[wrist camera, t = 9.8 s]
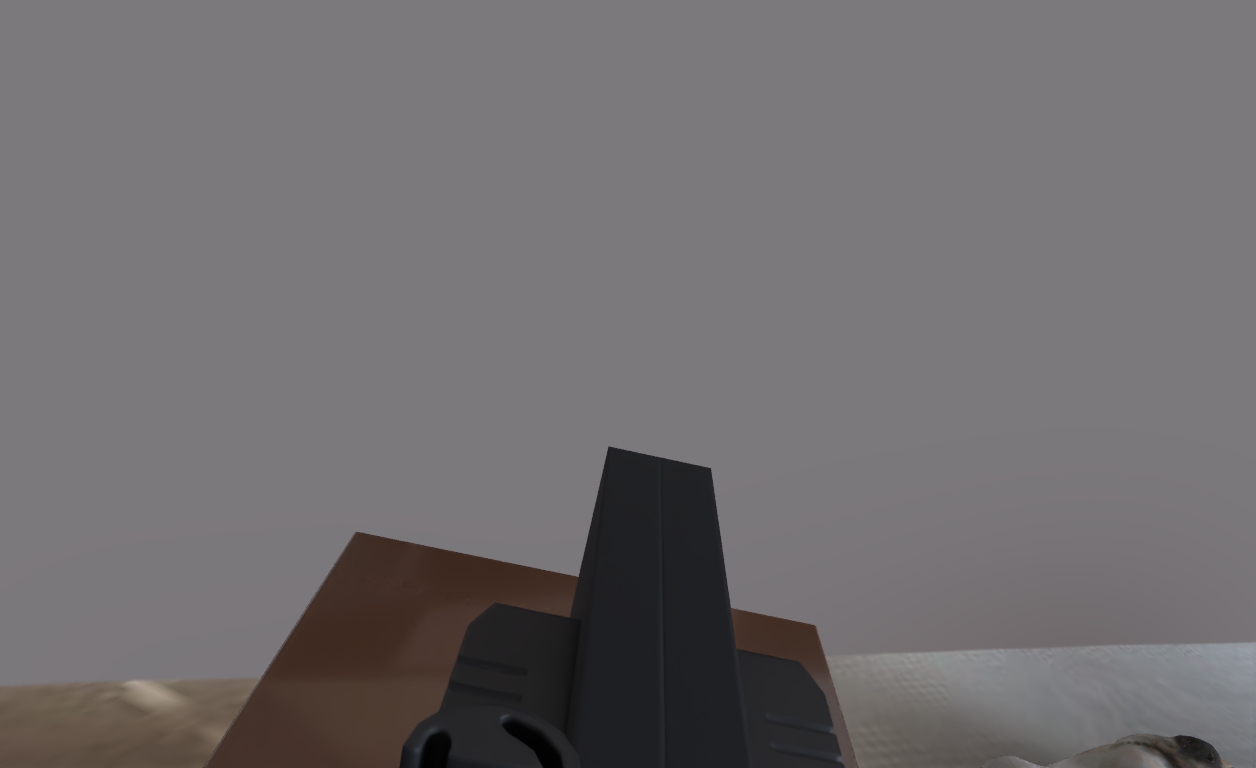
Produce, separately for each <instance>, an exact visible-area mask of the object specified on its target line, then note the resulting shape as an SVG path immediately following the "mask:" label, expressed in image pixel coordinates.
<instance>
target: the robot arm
mask: <svg viewBox="0 0 1256 768" xmlns="http://www.w3.org/2000/svg"><path fill="white" fill-rule="evenodd" d="M833 731H834V725H833V722H832V718H831V714H830V711H829V707H828V704H827V700H826V696H825V693H824V692H823V691H822V690H821V688H820V687H819V686H818V685H817V683H816V682H815V681H814V679H813V678H812V677H811V676H810V674H809V673H808V672H807V671H806V669H805V668H804V667H803V665H802V664H801V663H800V662H799V661H795V660H790V659H785V658H780V657H775V656H770V655H765V654H760V653H755V652H751V651H746V650H741V649H737V648H736V641H735V634H734V627H733V620H732V613H731V607H730V599H729V592H728V586H727V578H726V572H725V564H724V558H723V551H722V543H721V536H720V529H719V522H718V515H717V508H716V501H715V494H714V487H713V480H712V472H711V468H707V467H702V466H698V465H693V464H688V463H683V462H679V461H674V460H669V459H665V458H660V457H655V456H650V455H646V454H641V453H637V452H632V451H627V450H622V449H617V448H613V447H608V451H607V456H606V460H605V464H604V469H603V474H602V478H601V482H600V487H599V491H598V495H597V500H596V504H595V508H594V512H593V517H592V522H591V526H590V530H589V535H588V539H587V543H586V547H585V552H584V556H583V560H582V565H581V569H580V574H579V578H578V582H577V587H576V591H575V595H574V600H573V604H572V608H571V614H570V618H569V617H564V616H559V615H554V614H549V613H544V612H540V611H535V610H530V609H525V608H520V607H515V606H510V605H505V604H501V603H496V602H495V603H494V604H492V605H491V606H490V607H489V608H488V609H486V610H485V611H484V612H483V613H481V614H480V615H479V616H478V617H477V618H475V619H474V620H473V621H472V622H471V623H469V624H468V626H467V629H466V632H465V635H464V638H463V641H462V644H461V647H460V650H459V653H458V656H457V660H456V662H455V665H454V668H453V671H452V674H451V676H450V679H449V683H448V687H447V688H446V691H445V694H444V697H443V700H442V703H441V706H440V709H439V711H438V712H436V713H435V714H433V715H431V716H430V717H428V718H426V719H425V720H423V721H421V722H420V723H418V724H417V726H416V727H415V729H414V730H413V731H412V733H411V734H410V736H409V737H408V739H407V740H406V742H405V743H404V744H403V748H402V754H401V759H400V765H399V768H845V766H844V763H841V758H842V755H841V751H840V747H839V744H838V740H837V736H836V734H833Z"/></svg>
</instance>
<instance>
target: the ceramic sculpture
mask: <svg viewBox="0 0 1256 768" xmlns="http://www.w3.org/2000/svg"><path fill="white" fill-rule="evenodd" d="M981 768H1234V767H1232V766H1231V765H1230V764H1229V763H1227V762H1226V761H1225V760H1223V759H1221V758H1220V756H1219V754H1218V753H1217V751H1216V750H1215V748H1214V747H1213V746H1212V745H1211V744H1209V743H1207V742H1205V741H1203V740H1200V739H1197V738H1194V737H1191V736H1182V735H1179V736H1175V737H1171V738H1168V737H1163V736H1158V735H1150V734H1136V735H1130V736H1127V737H1124V738H1121V739H1120V740H1118V741H1117V742H1116V743H1114V744H1109V745H1103V746H1099V747H1096V748H1093V749H1090V750H1088V751H1085V752H1082V753H1080V754H1078V755H1075V756H1073V757H1070V758H1067V759H1064V760H1061V761H1058V762H1055V763H1052V764H1050V765H1049V766H1048V767H1044V766H1040V765H1036V764H1033V763H1030V762H1028V761H1025V760H1023V759H1021V758H1018V757H1015V756H999V757H995V758H993V759H991V760H989V761H988V762H986V763H985V764H984V765H983V766H982V767H981Z"/></svg>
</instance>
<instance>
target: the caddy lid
mask: <svg viewBox="0 0 1256 768" xmlns="http://www.w3.org/2000/svg"><path fill="white" fill-rule="evenodd" d="M578 578H579V577H576V576H571V575H566V574H561V573H556V572H551V571H546V570H541V569H537V568H532V567H526V566H522V565H517V564H512V563H507V562H502V561H497V560H492V559H488V558H483V557H478V556H472V555H468V554H463V553H458V552H453V551H448V550H443V549H438V548H434V547H428V546H424V545H419V544H414V543H409V542H404V541H399V540H394V539H389V538H385V537H380V536H374V535H369V534H365V533H360V532H355V533H354V535H353V536H352V538H351V540H350V541H349V542H348V544H347V546H346V547H345V549H344V550H343V552H342V553H341V555H340V556H339V558H338V560H337V561H336V563H335V564H334V566H333V567H332V569H331V570H330V572H329V573H328V575H327V577H326V578H325V580H324V581H323V583H322V585H321V586H320V587H319V589H318V591H317V592H316V594H315V596H314V597H313V599H312V600H311V601H310V603H309V605H308V606H307V608H306V609H305V611H304V612H303V614H302V615H301V617H300V619H299V620H298V622H297V623H296V625H295V626H294V628H293V629H292V631H291V632H290V634H289V636H288V637H287V639H286V640H285V642H284V643H283V645H282V646H281V648H280V649H279V651H278V653H277V654H276V656H275V657H274V659H273V661H272V662H271V664H270V665H269V667H268V668H267V670H266V671H265V673H264V674H263V676H262V677H261V679H260V680H259V682H258V684H257V685H256V687H255V688H254V690H253V691H252V693H251V694H250V696H249V698H248V699H247V701H246V702H245V704H244V705H243V707H242V708H241V710H240V712H239V713H238V715H237V716H236V718H235V719H234V721H233V722H232V724H231V725H230V727H229V729H228V730H227V732H226V733H225V735H224V736H223V738H222V739H221V741H220V743H219V744H218V746H217V747H216V749H215V750H214V752H213V753H212V755H211V756H210V758H209V760H208V761H207V763H206V764H205V766H204V767H203V768H399V765H400V759H401V754H402V748H403V744H404V743H405V742H406V740H407V739H408V737H409V736H410V734H411V733H412V731H413V730H414V729H415V727H416V726H417V724H418V723H420V722H421V721H423V720H425V719H426V718H428V717H430V716H431V715H433V714H435V713H436V712H438V711H439V709H440V706H441V703H442V700H443V697H444V694H445V691H446V688H447V687H448V683H449V679H450V676H451V674H452V671H453V668H454V665H455V662H456V660H457V656H458V653H459V650H460V647H461V644H462V641H463V638H464V635H465V632H466V629H467V626H468V624H469V623H471V622H472V621H473V620H474V619H475V618H477V617H478V616H479V615H480V614H481V613H483V612H484V611H485V610H486V609H488V608H489V607H490V606H491V605H492V604H494V603H495V602H496V603H501V604H505V605H510V606H515V607H520V608H525V609H530V610H535V611H540V612H544V613H549V614H554V615H559V616H564V617H569V618H570V614H571V608H572V604H573V600H574V595H575V591H576V587H577V582H578ZM731 613H732V620H733V627H734V634H735V641H736V648H737V649H741V650H746V651H751V652H755V653H760V654H765V655H770V656H775V657H780V658H785V659H790V660H795V661H799V662H800V663H801V664H802V665H803V667H804V668H805V669H806V671H807V672H808V673H809V674H810V676H811V677H812V678H813V679H814V681H815V682H816V683H817V685H818V686H819V687H820V688H821V690H822V691H823V692H824V693H825V696H826V700H827V704H828V707H829V711H830V714H831V718H832V722H833V725H834V731H833V734H836V736H837V740H838V744H839V747H840V751H841V755H842V758H841V763H844V766H845V768H858V764H857V761H856V758H855V754H854V751H853V748H852V744H851V741H850V738H849V734H848V731H847V728H846V724H845V721H844V718H843V714H842V711H841V708H840V704H839V701H838V698H837V694H836V691H835V688H834V684H833V681H832V678H831V674H830V671H829V668H828V664H827V661H826V658H825V655H824V651H823V648H822V645H821V641H820V638H819V635H818V632H817V628H816V626H815V625H811V624H806V623H801V622H796V621H791V620H787V619H782V618H777V617H772V616H767V615H762V614H757V613H752V612H747V611H742V610H737V609H733V608H731Z"/></svg>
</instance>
